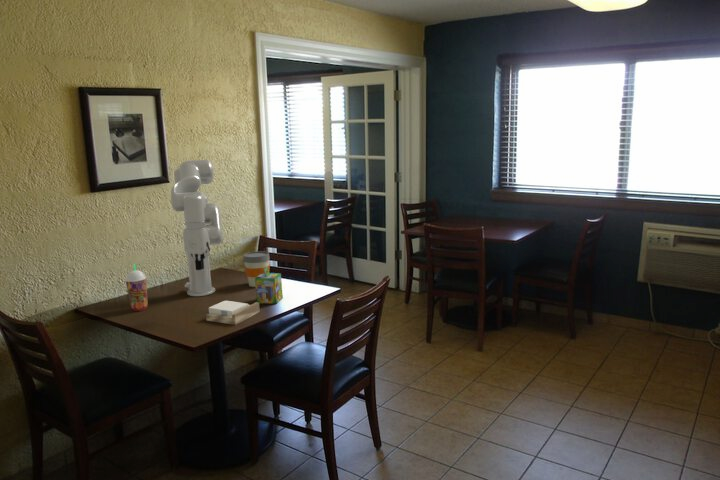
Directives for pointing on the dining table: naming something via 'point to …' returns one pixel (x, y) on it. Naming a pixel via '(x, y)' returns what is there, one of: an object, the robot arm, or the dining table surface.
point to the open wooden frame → (235, 315)
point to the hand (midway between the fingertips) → (200, 269)
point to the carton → (227, 308)
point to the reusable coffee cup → (255, 265)
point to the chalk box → (268, 287)
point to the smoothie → (137, 290)
